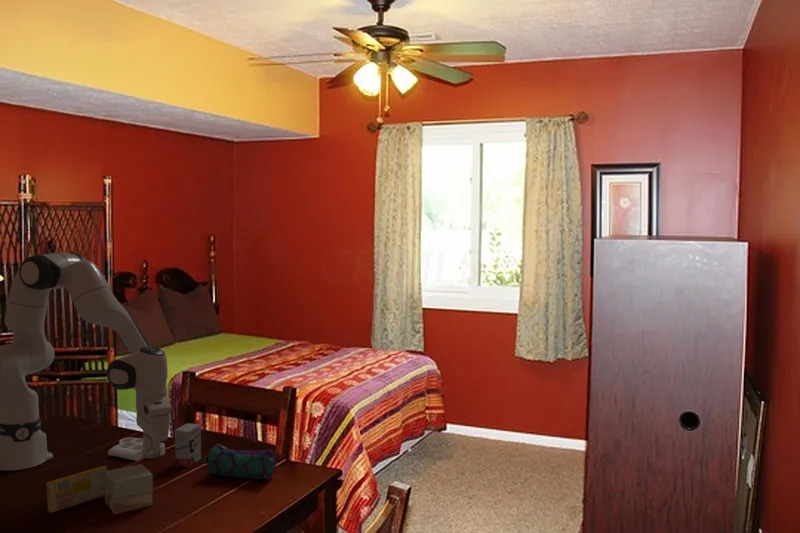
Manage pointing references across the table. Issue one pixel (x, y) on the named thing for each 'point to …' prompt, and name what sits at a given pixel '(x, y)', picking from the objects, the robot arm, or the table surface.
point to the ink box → (187, 445)
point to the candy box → (76, 489)
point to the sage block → (128, 481)
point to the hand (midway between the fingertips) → (151, 447)
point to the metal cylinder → (149, 448)
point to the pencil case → (241, 463)
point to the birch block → (128, 502)
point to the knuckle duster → (131, 449)
